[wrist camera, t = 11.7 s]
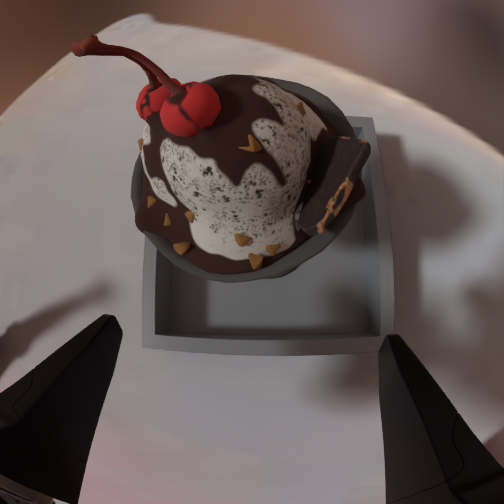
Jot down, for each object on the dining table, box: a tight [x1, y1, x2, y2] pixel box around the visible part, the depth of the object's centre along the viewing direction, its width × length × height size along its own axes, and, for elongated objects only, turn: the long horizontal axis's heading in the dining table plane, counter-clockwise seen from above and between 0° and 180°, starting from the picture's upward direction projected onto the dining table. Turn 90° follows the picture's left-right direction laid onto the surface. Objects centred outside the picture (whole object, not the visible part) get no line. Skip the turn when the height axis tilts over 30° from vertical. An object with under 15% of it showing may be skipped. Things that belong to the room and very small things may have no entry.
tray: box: [142, 116, 395, 356], centre depth 17 cm, size 14×14×3 cm
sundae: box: [71, 35, 371, 283], centre depth 10 cm, size 7×7×15 cm
